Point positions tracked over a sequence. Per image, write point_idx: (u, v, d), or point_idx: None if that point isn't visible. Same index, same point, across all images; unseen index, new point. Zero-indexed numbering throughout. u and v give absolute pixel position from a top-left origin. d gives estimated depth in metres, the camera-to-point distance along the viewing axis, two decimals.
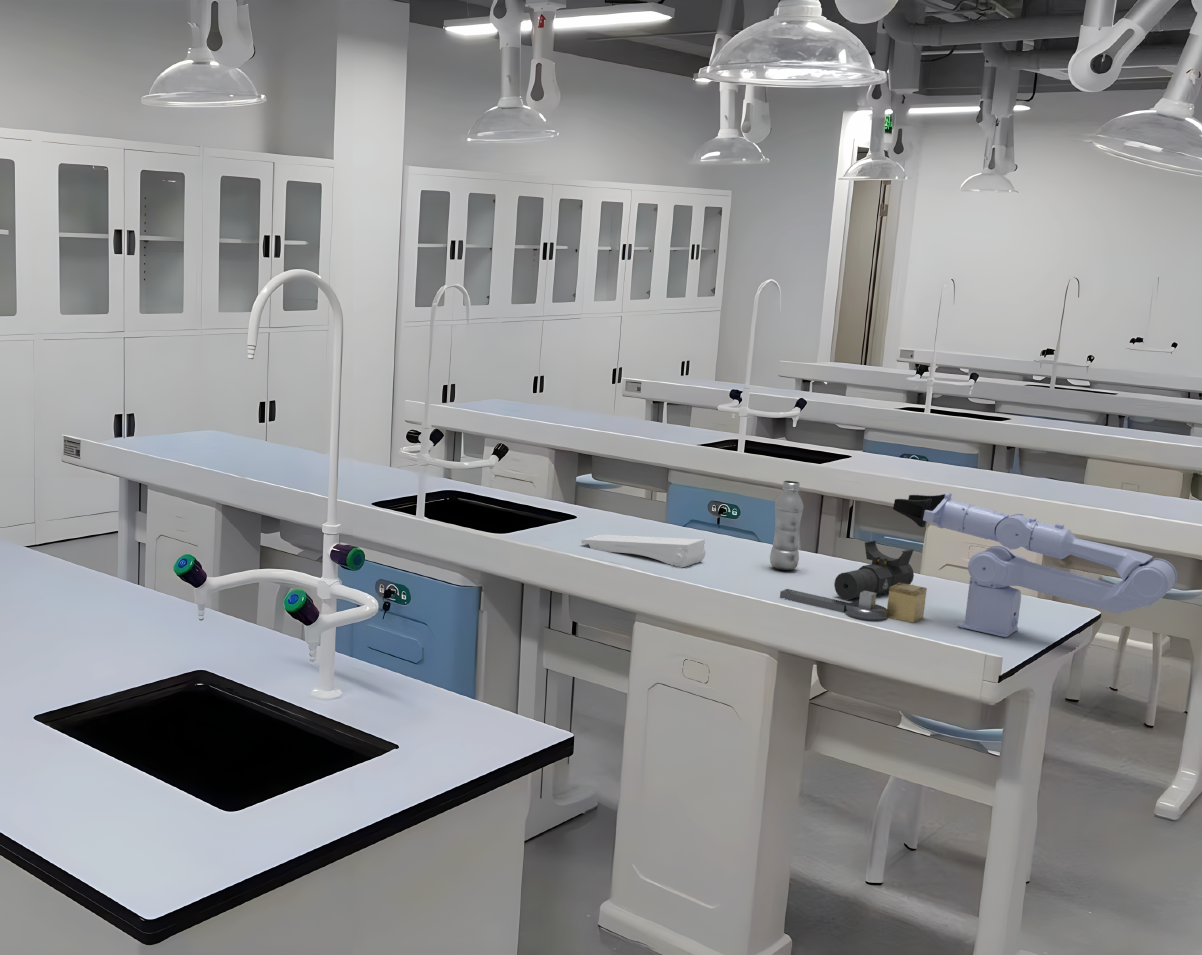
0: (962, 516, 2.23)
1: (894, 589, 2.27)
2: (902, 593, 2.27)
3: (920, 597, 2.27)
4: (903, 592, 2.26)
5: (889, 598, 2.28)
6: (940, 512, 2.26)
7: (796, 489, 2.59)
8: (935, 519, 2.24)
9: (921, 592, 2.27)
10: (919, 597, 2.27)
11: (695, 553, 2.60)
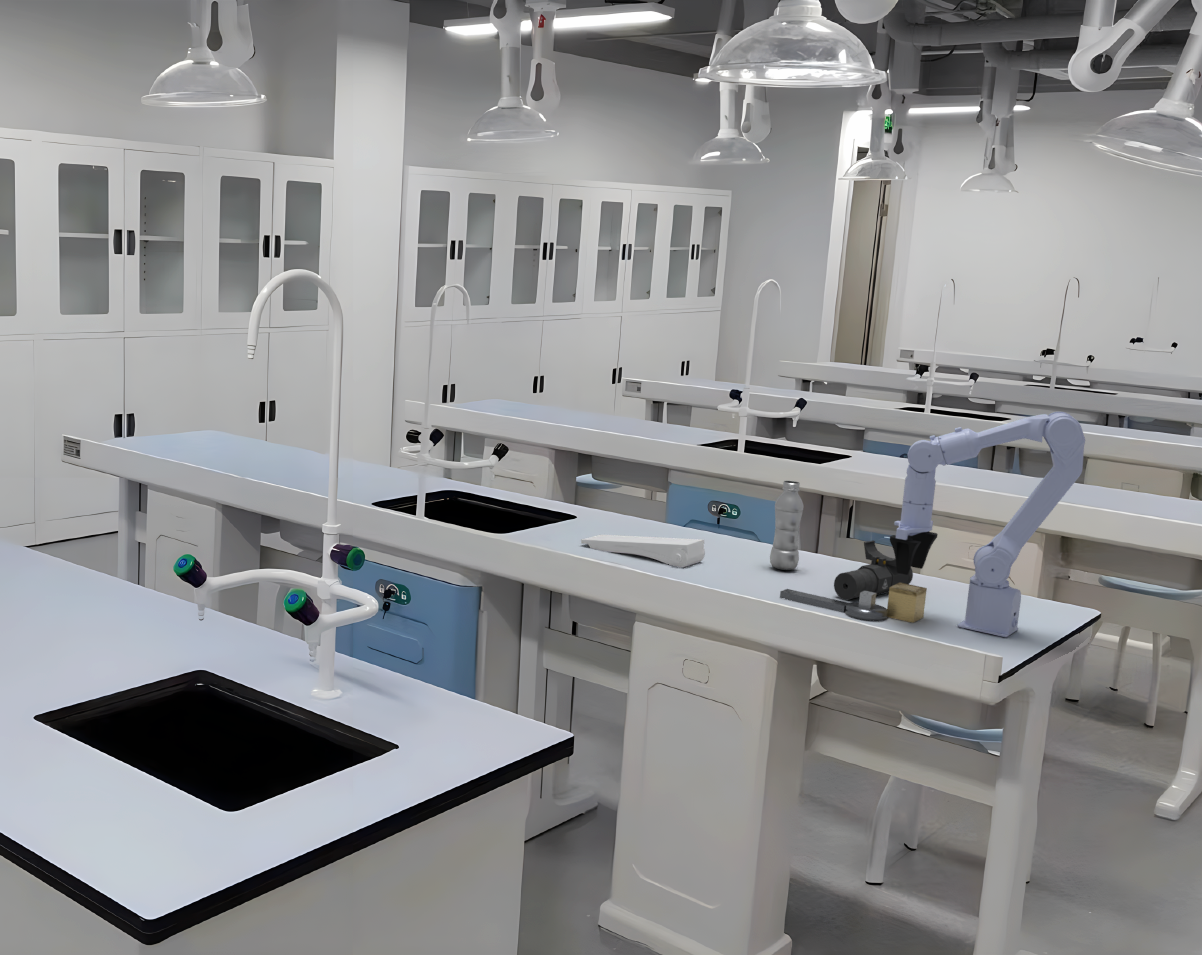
0: (908, 505, 2.24)
1: (894, 589, 2.27)
2: (902, 593, 2.27)
3: (920, 597, 2.27)
4: (903, 592, 2.26)
5: (889, 598, 2.28)
6: (907, 527, 2.25)
7: (796, 489, 2.59)
8: None
9: (921, 592, 2.27)
10: (919, 597, 2.27)
11: (694, 553, 2.60)
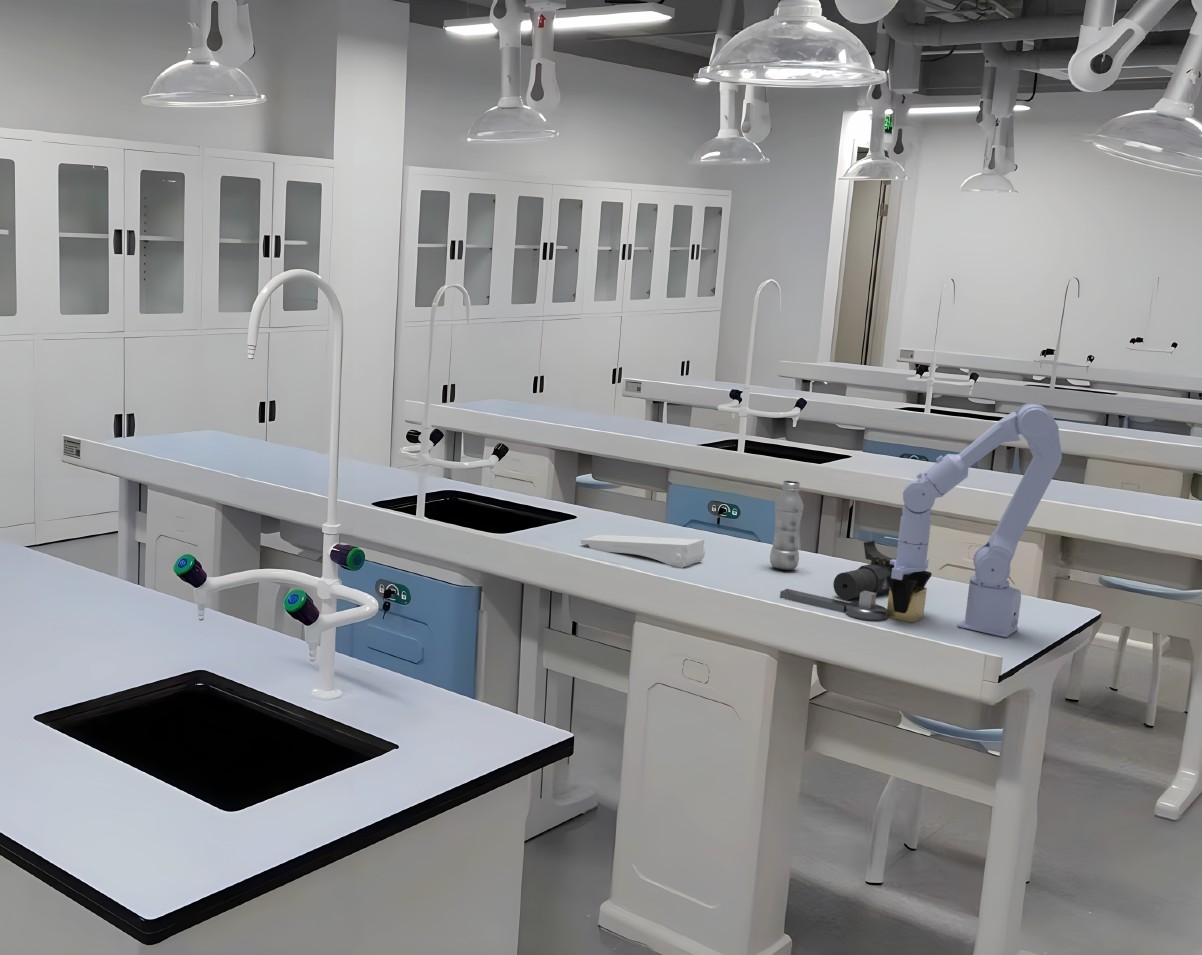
0: (904, 544, 2.25)
1: None
2: None
3: (920, 597, 2.27)
4: None
5: (889, 598, 2.28)
6: (902, 566, 2.26)
7: (796, 489, 2.59)
8: (905, 569, 2.24)
9: (921, 592, 2.27)
10: (919, 597, 2.27)
11: (694, 553, 2.60)
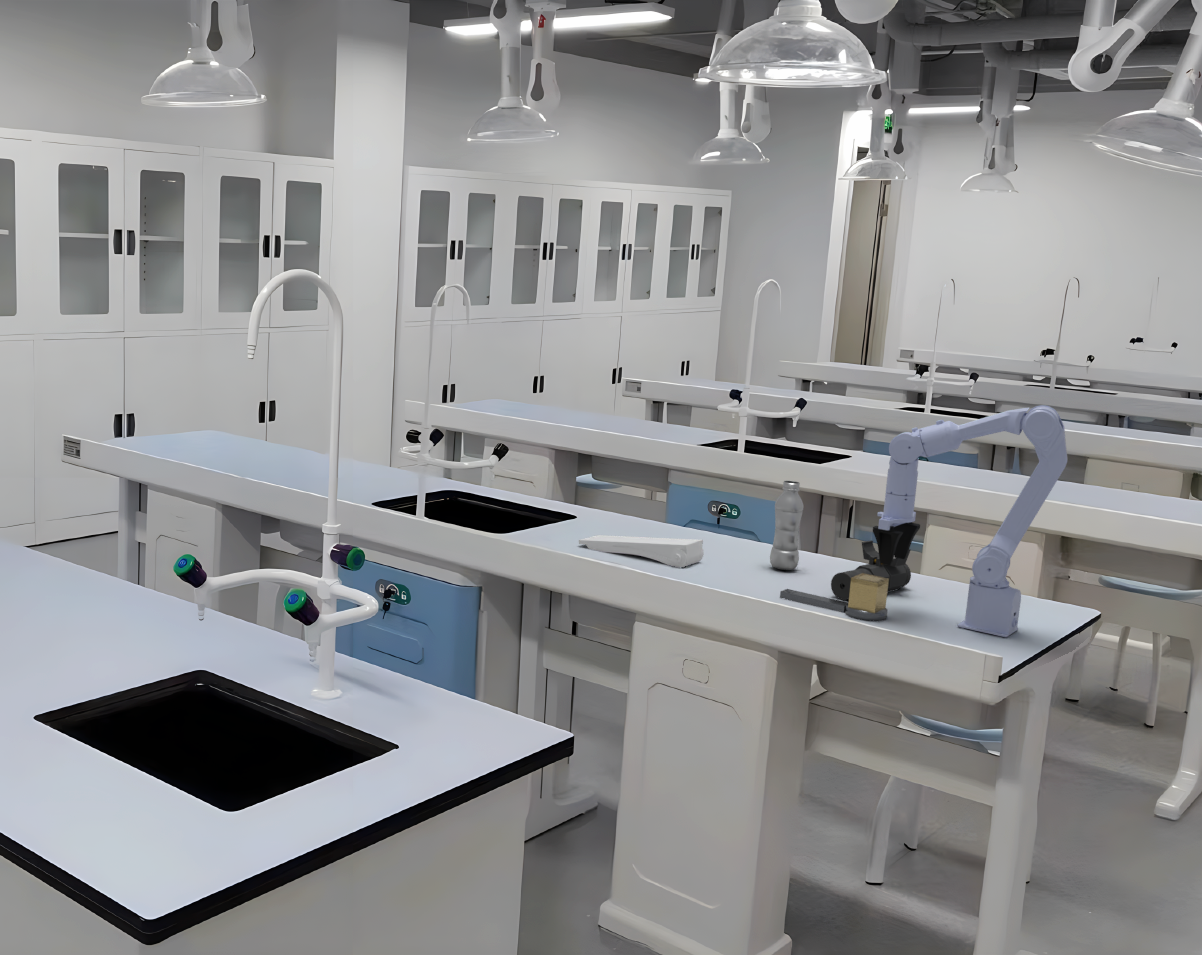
0: (891, 496, 2.27)
1: (855, 579, 2.26)
2: (863, 583, 2.26)
3: (882, 588, 2.26)
4: (864, 582, 2.25)
5: (851, 588, 2.27)
6: (889, 517, 2.27)
7: (796, 489, 2.59)
8: (892, 520, 2.25)
9: (882, 583, 2.26)
10: (881, 588, 2.26)
11: (693, 553, 2.60)
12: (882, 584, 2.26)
